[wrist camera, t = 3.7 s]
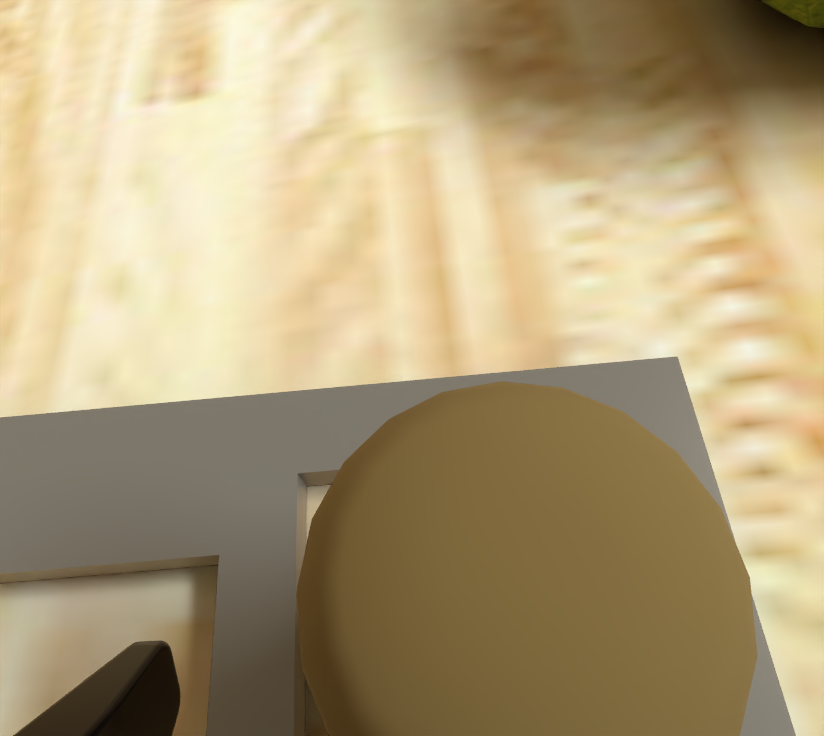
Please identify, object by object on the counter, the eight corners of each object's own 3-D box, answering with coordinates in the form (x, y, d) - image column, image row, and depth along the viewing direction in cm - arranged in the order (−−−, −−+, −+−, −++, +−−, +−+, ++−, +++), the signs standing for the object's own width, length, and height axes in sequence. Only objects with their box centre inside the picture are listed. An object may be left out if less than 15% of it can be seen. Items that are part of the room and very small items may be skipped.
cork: (403, 497, 18) (344, 258, 8) (619, 560, 16) (865, 374, 7) (328, 732, 15) (98, 815, 5) (577, 826, 14) (884, 1159, 4)
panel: (892, 1144, 11) (951, 1205, 10) (-375, 1232, 12) (-480, 1301, 10) (664, 375, 19) (681, 351, 17) (-107, 444, 19) (-149, 426, 18)
